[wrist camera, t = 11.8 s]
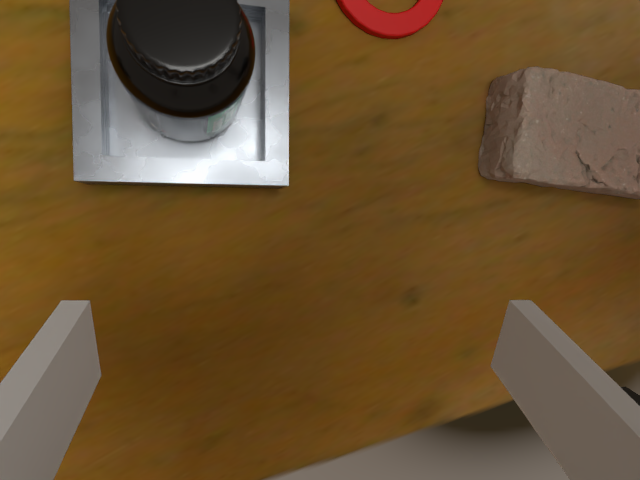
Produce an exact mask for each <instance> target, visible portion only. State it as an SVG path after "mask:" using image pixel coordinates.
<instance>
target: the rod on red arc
mask: <svg viewBox="0 0 640 480" xmlns="http://www.w3.org/2000/svg"><path fill="white" fill-rule="evenodd" d="M336 1H337V2H338V4H339V6H340V8H341V10H342V12H343V13H344V14H345V15H346V16H347V17H348V18H349V19H350V21H351V22H352V23H353V24H354V25H356V26H357V27H359V28H360V29H362V30H363V31H365V32H366V33H368V34H370V35H374V36H377V37H380V38H386V39H398V38H402V37H406V36H410V35H412V34H413V33H415V32H417V31H418V30H420V29H421V28H423V27H424V26H426V25H427V24H428V23H429V22H430V21H431V19H432V18H433V17H434V16H435V15H436V14H437V12H438V10H439V8H440V6H441V4H442V2H443V0H418V1H417V3H416V4H415V5H414V6H413V7H412V8H410V9H409V10H407V11H404V12H400V13H387V12H384V11H381V10H379V9H377V8H375V7H374V6H373V5H371V4H370V3H369V2H368V1H367V0H336Z"/></svg>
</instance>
